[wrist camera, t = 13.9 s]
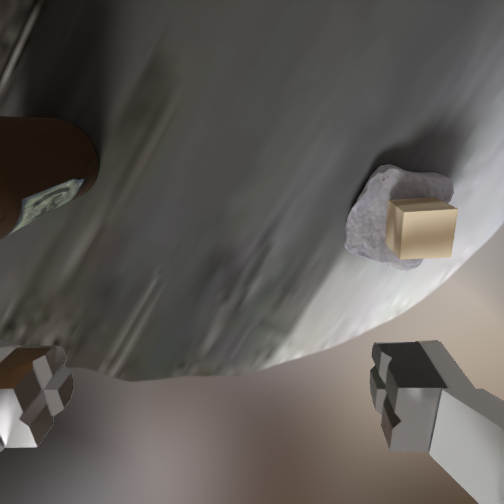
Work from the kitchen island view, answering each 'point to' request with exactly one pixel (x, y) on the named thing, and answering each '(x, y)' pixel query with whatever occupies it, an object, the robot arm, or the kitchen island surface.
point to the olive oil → (41, 168)
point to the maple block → (420, 228)
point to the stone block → (375, 210)
